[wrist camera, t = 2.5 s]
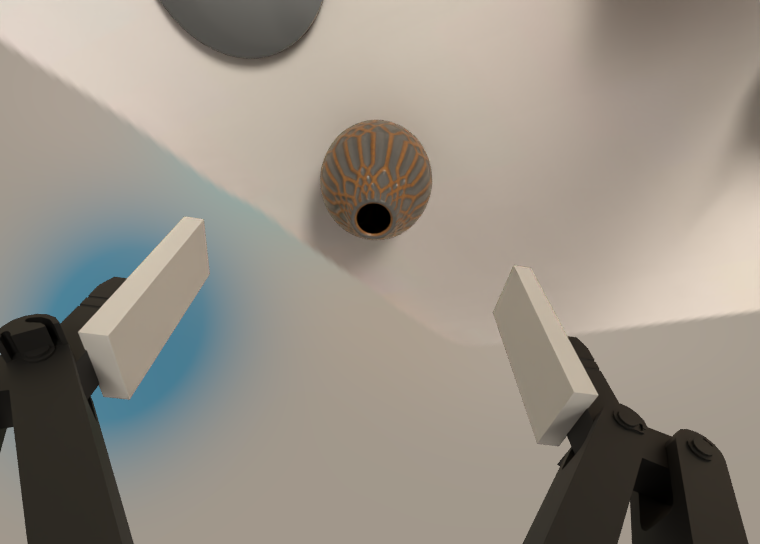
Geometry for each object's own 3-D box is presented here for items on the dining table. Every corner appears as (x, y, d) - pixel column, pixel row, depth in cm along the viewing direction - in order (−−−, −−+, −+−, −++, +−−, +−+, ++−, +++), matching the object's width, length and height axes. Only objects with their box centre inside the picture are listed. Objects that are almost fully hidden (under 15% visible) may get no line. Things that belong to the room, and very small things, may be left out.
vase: (373, 84, 24) (366, 122, 17) (447, 157, 27) (468, 216, 20) (308, 163, 28) (280, 223, 20) (381, 221, 30) (378, 293, 23)
